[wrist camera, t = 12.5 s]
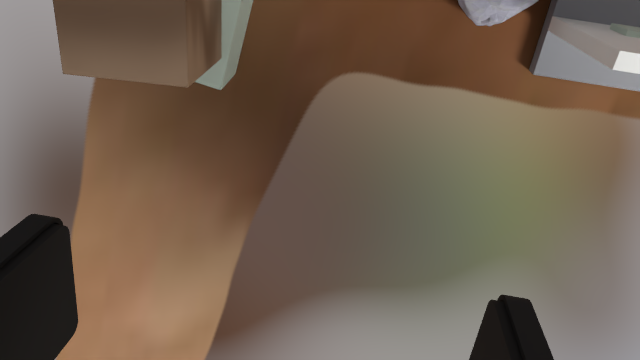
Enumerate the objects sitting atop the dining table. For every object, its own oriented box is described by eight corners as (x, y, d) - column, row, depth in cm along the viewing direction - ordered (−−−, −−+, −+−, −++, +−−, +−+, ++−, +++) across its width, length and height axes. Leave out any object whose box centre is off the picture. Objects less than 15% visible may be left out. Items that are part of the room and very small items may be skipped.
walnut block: (221, 58, 30) (187, 87, 24) (118, 47, 30) (63, 73, 24) (221, -58, 27) (183, -53, 22) (108, -69, 27) (43, -67, 22)
